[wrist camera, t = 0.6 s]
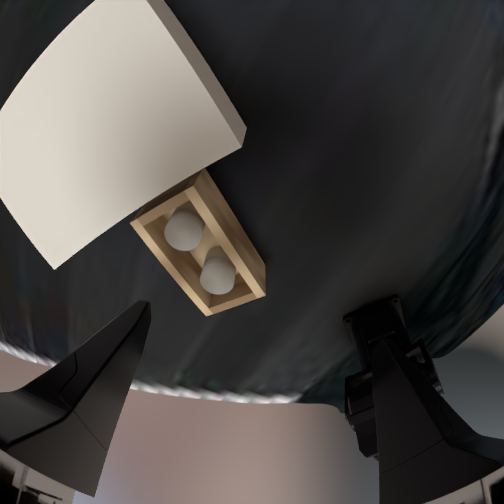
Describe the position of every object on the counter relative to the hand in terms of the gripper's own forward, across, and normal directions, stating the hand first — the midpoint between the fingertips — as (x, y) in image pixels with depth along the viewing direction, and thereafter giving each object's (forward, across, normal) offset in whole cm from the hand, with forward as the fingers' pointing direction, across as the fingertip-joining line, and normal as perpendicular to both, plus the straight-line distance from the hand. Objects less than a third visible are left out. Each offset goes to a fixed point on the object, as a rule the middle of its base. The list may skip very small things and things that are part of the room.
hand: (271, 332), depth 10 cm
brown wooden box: (+14, +4, +4) cm, 15 cm away
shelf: (+13, +13, -4) cm, 19 cm away
